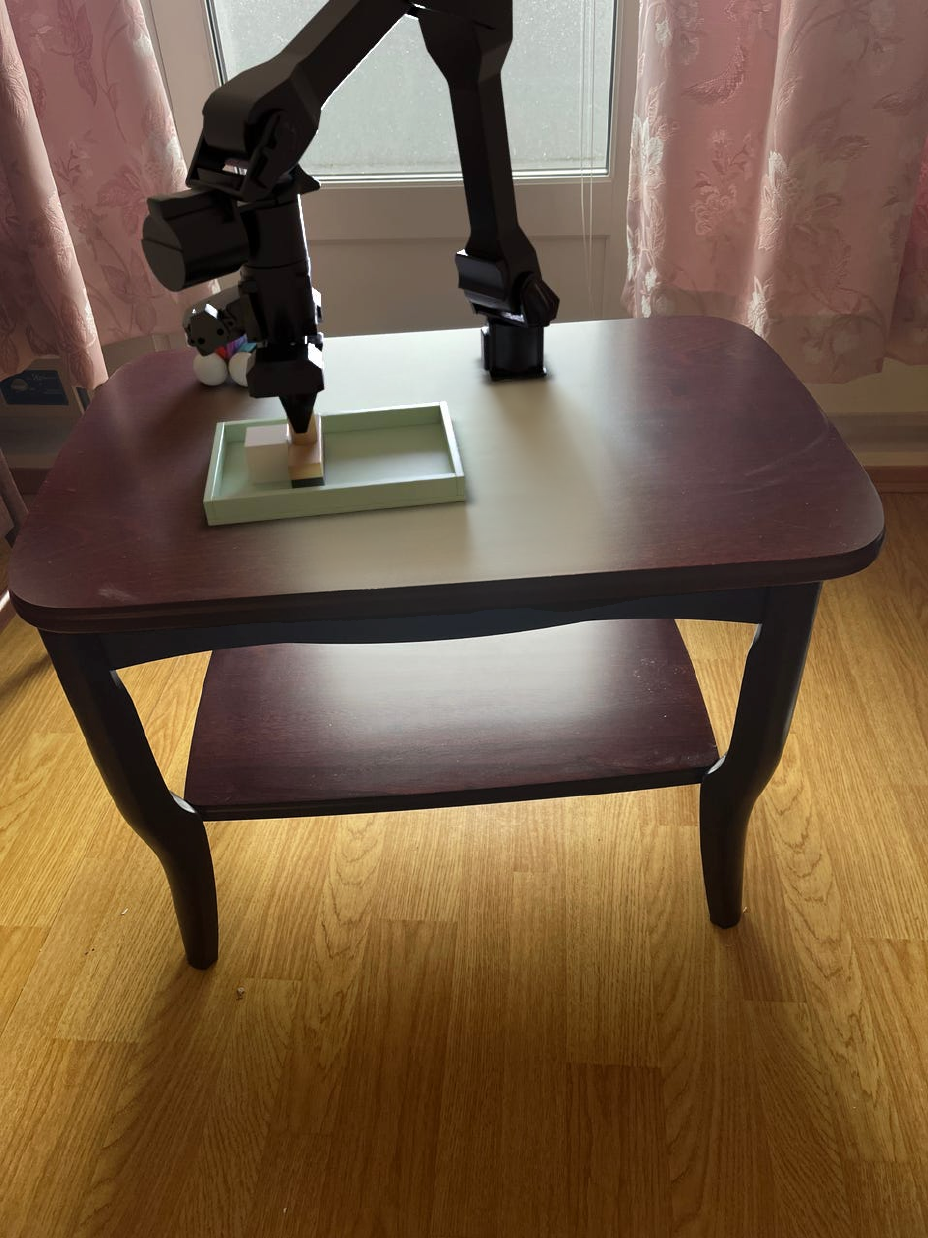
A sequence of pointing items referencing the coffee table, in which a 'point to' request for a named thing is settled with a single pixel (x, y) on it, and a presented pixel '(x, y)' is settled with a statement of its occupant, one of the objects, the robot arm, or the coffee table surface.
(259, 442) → the chalk block
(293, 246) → the robot arm
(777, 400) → the coffee table surface
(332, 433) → the tray
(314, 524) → the coffee table surface
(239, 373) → the rainbow petal wheeled toy
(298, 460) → the brush
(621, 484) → the coffee table surface
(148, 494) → the coffee table surface
